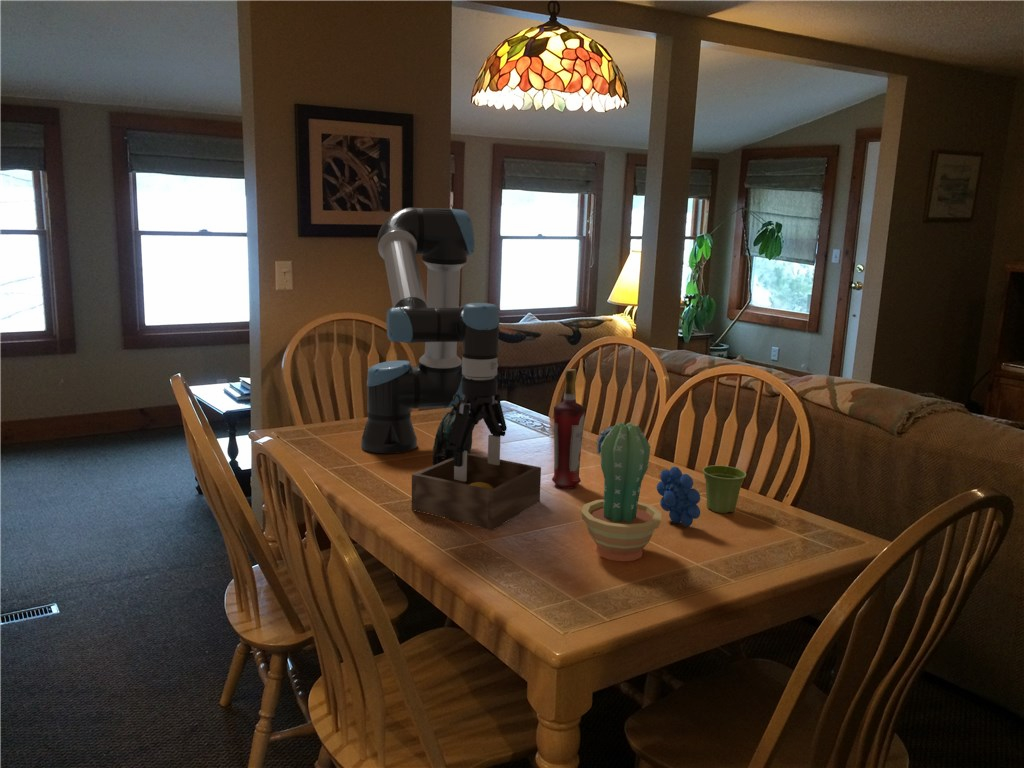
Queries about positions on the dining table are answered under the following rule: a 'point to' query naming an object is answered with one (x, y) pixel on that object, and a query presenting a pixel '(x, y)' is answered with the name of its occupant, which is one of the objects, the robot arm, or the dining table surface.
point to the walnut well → (477, 491)
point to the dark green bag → (447, 436)
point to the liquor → (568, 435)
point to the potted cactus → (622, 496)
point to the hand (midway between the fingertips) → (477, 471)
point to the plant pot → (722, 487)
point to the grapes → (678, 496)
